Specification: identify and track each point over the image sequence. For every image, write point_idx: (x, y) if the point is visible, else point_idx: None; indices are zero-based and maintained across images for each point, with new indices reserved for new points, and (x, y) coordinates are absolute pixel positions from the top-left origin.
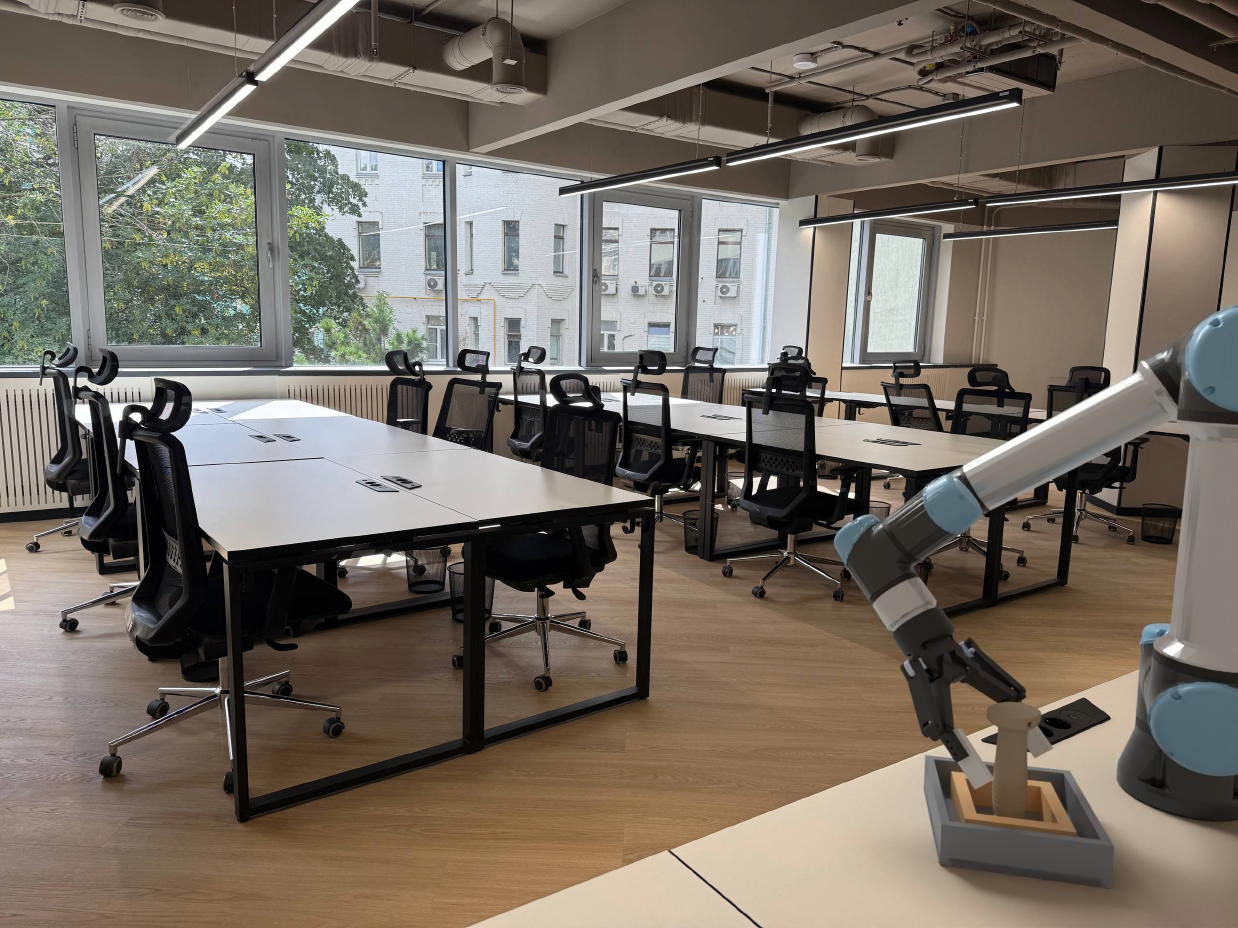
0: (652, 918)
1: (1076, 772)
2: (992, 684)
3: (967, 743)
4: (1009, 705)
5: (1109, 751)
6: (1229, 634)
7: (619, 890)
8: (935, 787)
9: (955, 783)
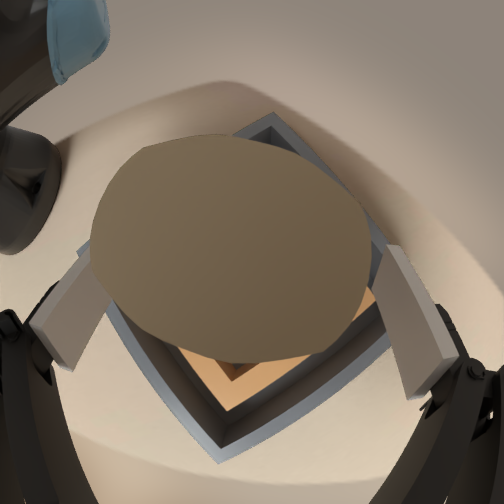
0: None
1: (31, 291)
2: (40, 429)
3: (436, 315)
4: (164, 289)
5: None
6: None
7: None
8: (330, 390)
9: (269, 383)
